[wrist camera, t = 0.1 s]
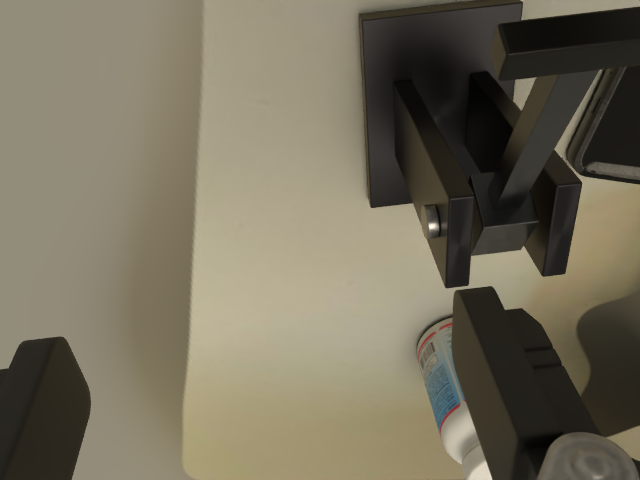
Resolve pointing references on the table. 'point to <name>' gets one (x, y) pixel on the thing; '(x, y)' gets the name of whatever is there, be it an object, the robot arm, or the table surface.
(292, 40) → the table surface
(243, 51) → the table surface
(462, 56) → the bracket
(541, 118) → the lever
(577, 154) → the phone
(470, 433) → the pill bottle
